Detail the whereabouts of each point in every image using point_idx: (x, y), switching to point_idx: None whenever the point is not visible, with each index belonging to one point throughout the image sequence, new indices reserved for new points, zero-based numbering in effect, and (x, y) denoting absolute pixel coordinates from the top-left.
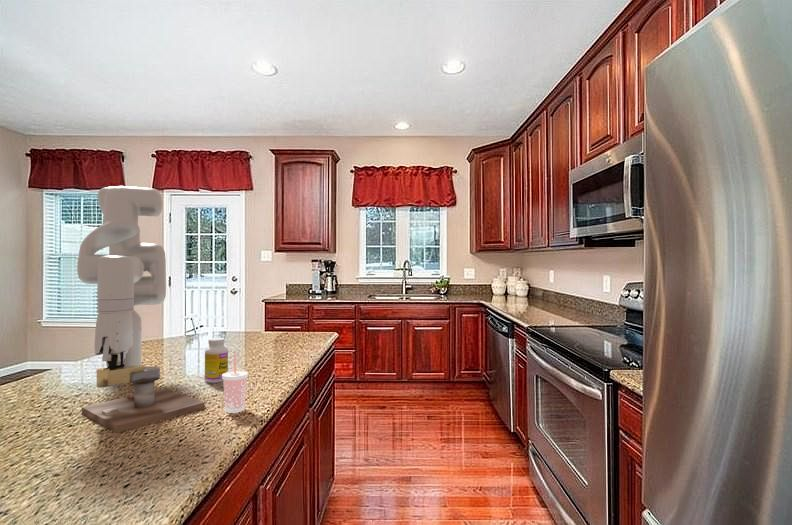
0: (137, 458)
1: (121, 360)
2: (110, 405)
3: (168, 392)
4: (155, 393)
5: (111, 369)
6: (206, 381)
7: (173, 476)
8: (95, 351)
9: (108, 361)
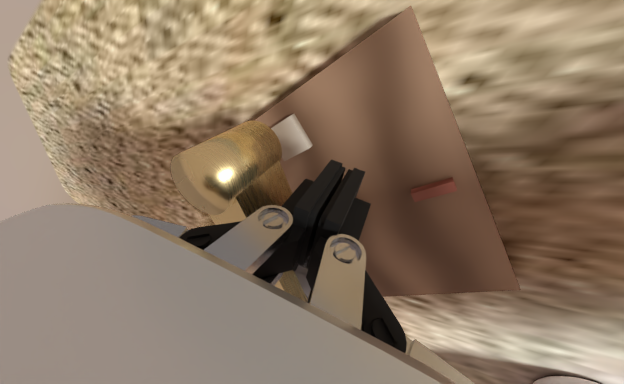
0: (135, 181)
1: (310, 291)
2: (374, 128)
3: (442, 280)
4: (456, 254)
5: (231, 216)
6: (568, 378)
7: (112, 207)
8: (12, 224)
9: (215, 235)
